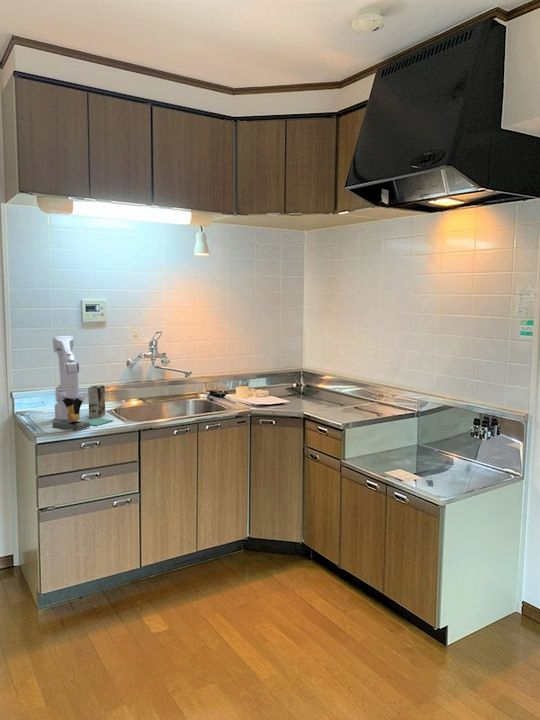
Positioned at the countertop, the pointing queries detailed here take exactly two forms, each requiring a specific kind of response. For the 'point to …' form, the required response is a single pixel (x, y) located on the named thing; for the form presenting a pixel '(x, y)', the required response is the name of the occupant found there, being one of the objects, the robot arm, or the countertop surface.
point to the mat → (98, 421)
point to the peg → (72, 414)
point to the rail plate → (70, 424)
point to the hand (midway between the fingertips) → (73, 413)
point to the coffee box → (96, 401)
